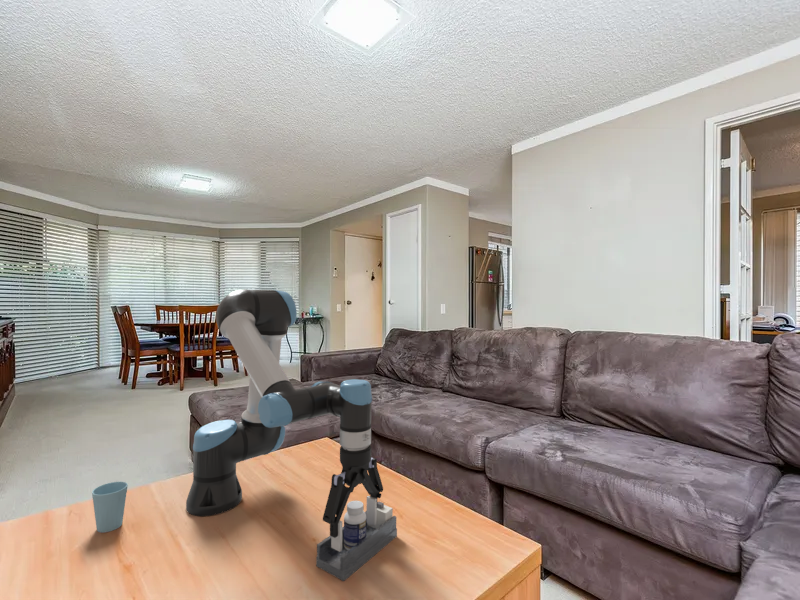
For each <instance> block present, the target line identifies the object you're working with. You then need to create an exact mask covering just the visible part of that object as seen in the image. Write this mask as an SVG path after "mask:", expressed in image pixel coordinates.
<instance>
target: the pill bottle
mask: <svg viewBox="0 0 800 600" xmlns="http://www.w3.org/2000/svg"><path fill="white" fill-rule="evenodd" d="M364 505H365V504H364V503H363V502H362V501H361V500H352V501H348V502H347V503H346V512H345V513H344V516H343V527H344V547H345V549H347V550H350V549H351V548H352V547H353V546H355V545H356V544H357V543H359V542H360V541H361V540H363V539H364V538H365V537H366V513H365V512H366V511H364V507H365V506H364Z"/></svg>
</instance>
